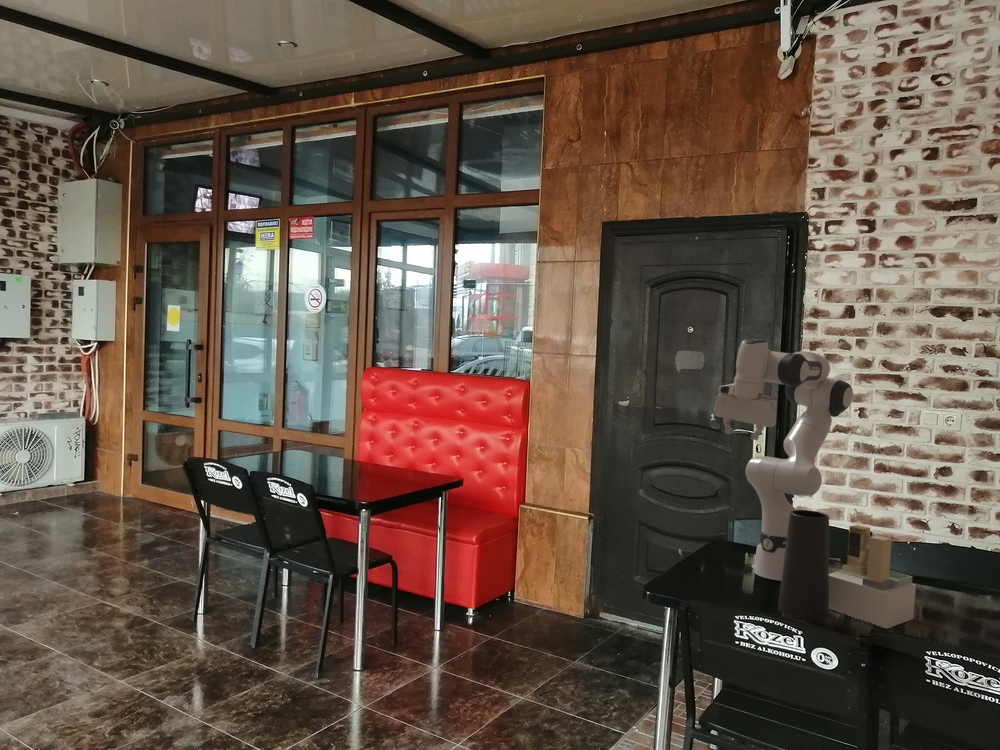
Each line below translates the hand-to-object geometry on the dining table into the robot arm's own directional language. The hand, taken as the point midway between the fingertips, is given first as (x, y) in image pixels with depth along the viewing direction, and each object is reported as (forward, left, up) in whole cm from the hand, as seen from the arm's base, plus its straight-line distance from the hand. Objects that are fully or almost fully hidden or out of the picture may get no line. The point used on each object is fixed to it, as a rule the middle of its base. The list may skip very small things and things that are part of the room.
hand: (741, 436), depth 245 cm
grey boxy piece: (-21, +32, -49) cm, 62 cm away
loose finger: (-24, +26, -38) cm, 52 cm away
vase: (-5, +21, -49) cm, 54 cm away
